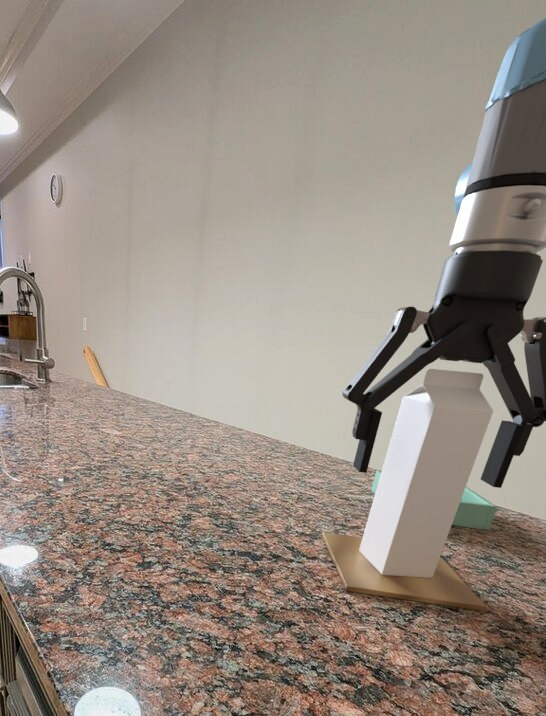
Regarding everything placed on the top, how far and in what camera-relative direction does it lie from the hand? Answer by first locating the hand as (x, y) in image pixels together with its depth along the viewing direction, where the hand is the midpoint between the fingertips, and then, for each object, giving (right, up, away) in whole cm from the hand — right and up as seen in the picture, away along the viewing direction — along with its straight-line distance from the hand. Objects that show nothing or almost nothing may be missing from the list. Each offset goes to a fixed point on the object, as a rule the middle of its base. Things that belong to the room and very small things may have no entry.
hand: (423, 476), depth 49 cm
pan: (+15, -3, +26) cm, 30 cm away
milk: (-1, -10, +4) cm, 11 cm away
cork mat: (-1, -11, +4) cm, 12 cm away
